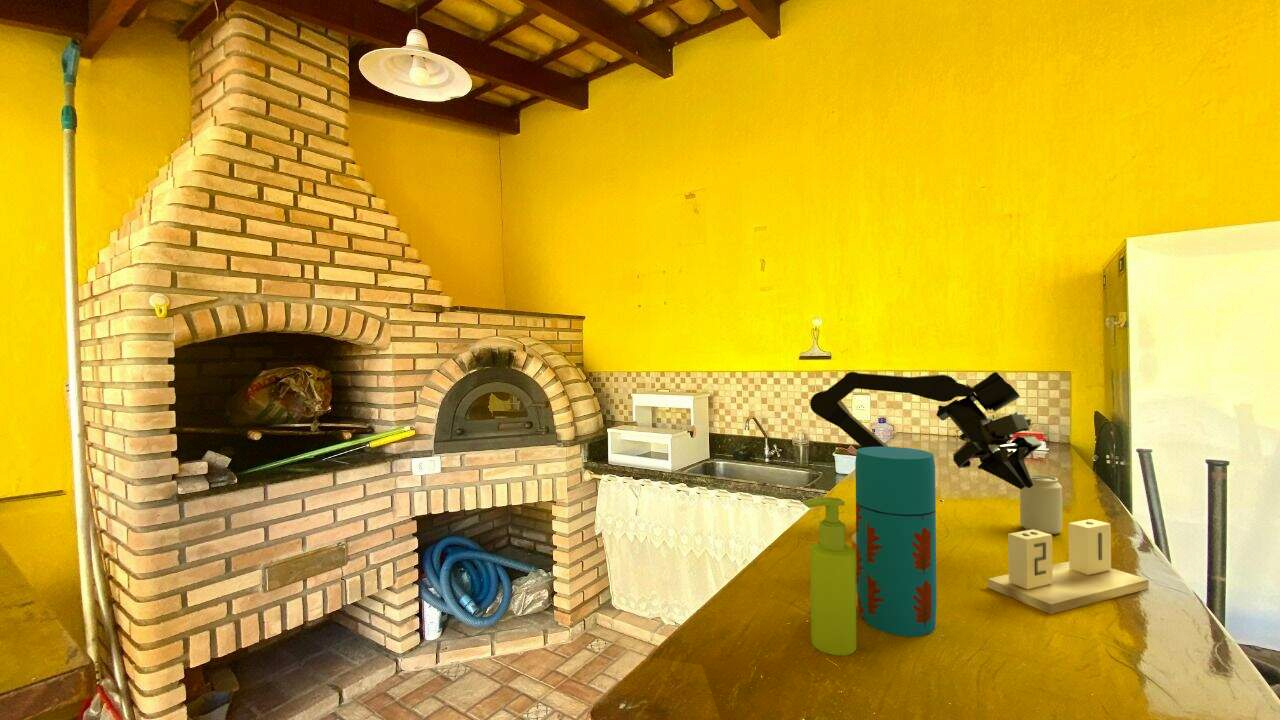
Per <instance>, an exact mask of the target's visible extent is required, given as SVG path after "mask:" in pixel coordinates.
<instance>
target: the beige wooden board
mask: <svg viewBox="0 0 1280 720" xmlns="http://www.w3.org/2000/svg"><path fill="white" fill-rule="evenodd" d="M1052 581H1053V583H1052V584H1048V585H1043V586H1039V587H1035V588H1031V589H1025V588H1023V587H1020V586H1018V585H1015V584H1013V583H1010V582H1009V573H1008V574H1003V575H999V576H994V577H990V578H987V588H989V589H991V590H993V591H996V592H998V593H1000V594H1003V595H1005V596H1007V597H1010V598H1012V599H1014V600H1016V601H1019V602H1021V603H1023V604H1026V605H1029V606H1030V607H1033V608H1036V609H1038V610H1040V611H1042V612H1045V613H1046V614H1050V615H1053V614H1056V613H1057V614H1058V613H1060V612H1061V613H1062V612H1064V611H1069V610H1072V609H1076V608H1079V607H1083V606H1087V605H1092V604H1095V603H1099V602H1104V601H1107V600H1110V599H1114V598H1119V597H1122V596H1125V595H1126V596H1127V595H1129V594H1133V593H1137V592H1141V591H1145V590H1149V586H1150V585H1149V584H1150V582H1149V579H1147V578H1144V577H1141V576H1137V575H1136V574H1131V573H1128V572H1125V571H1122V570H1119V569H1115V568H1114V567H1113V568H1112V567H1111V570H1108V571H1104V572H1099V573H1095V574H1091V575H1087V574H1084V573H1081V572H1078V571H1075V570H1072V569H1069V560H1068V561H1064V562H1059V563H1054V564H1052Z"/></svg>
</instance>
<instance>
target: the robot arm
mask: <svg viewBox="0 0 1280 720" xmlns="http://www.w3.org/2000/svg"><path fill="white" fill-rule="evenodd" d="M856 389H858V390H866V391H876V392H877V391H880V392H889V393H901V394H909V395H915V396H917V397H922V398H924V399H928V400H933V401H936V402H942V403H948V402H949V403H948V404H947V405H938V406H937V407H938V408H937V412H936V417H937V418H938V419H939V420H941V421H945V420H947V419H948V418H950V420H951V421H952V422H953V423H954V425H955V426H956V427H957V428H958V429H959V430H960V432H961V433H962V434H961V435H960V436H959V437H960V439H961V440H962V441H965V443H964V444H963V445H962V446H960V447H959V448H958V449H957V451H955V452H954V453H953V457H952V459H953V463H954V464H956V466H957V468H959V469H964V468H965V469H966V468H969V467H970V466H971V461H970V460H971V459H979V462H980V464H979V465H978V466H977V469H978V470H982V471H984V472H986V473H989V474H991V475H993V476H995V477H997V478H998V479H1001V480H1003V481H1004V482H1007V483H1008V484H1010V485H1012V486H1014V487H1016V488H1018V489H1019V490H1020V489H1023V488H1024V487H1025V486H1026V487H1027V488H1031V487H1032V486H1033V483H1032V480H1031V478H1030V475H1029V474H1030V473H1029V471H1028V468H1027V466H1026V462H1025V460H1026V459H1027V457H1029V456H1030V455H1032V454H1033V453H1034V452H1035V451H1036V450H1038V449H1039V448H1040V447H1041V446H1042V443H1041V441H1040V440H1038V438H1037V437H1036V436H1034V435H1024V436H1023V435H1021V436H1017V437H1016V438H1014V437H1015V436H1014V434H1018V433H1021V432H1027V431H1030V430H1031V429H1030V426H1031V425H1032V419H1031V418H1030V417H1028V416H1027V414H1025V413H1023V411H1016V412H1015V413H1012V414H1008V415H1005V416H1001V417H999V418H997V419H996V418H988V416H987V415H986V414H985V413H984V412H983V410H981V408H980V407H979V406H978V405H977V404H976V403H975V402H976V401H977V402H978V403H979V405H980V406H981V407H982V408H983V409H984V410H985V411H986V412H987V411H993V412H995V413H996V412H997V411H999V410H1000V409H1002V408H1005V407H1006V406H1007V405H1009V404H1012V403H1013V402H1014V401H1016V400H1017V399H1020V398H1021V395H1020V394H1019V393H1018V392H1017V390H1016V389H1015V388H1014V387H1013V386H1012V385H1011V384H1010V383H1008V382H1007V381H1006V380H1005V379H1004V378H1003V377H1002V376H1001V375H1000V374H999V373H998V372H997V371H993V372H991V373H990V374H989V375H988V376H987V377H986V378H984V379H982V380H981V381H979V382H978V383H976V384H974V385H969V384H968V383H966V384H964V383H960V382H957V381H956V380H955V378H953V377H952V376H950V375H948V374H933V375H919V376H901V375H890V374H889V375H888V374H876V373H863V372H858V371H850V372H847V373H846V374H845V375H844V376H843V377H842V378H840V380H838V381H837V382H836V383H834V384H833V385H831V387H829V388H828V389H827V390H826V389H825V390H822V391H819V392H816V393H815V394H813V395H812V396H811V399H810V409H811V411H812V412H813V413H814V414H815V415H817V416H819V417H820V418H822V419H823V420H824V421H827V422H829V423H830V424H832V425H834V426H836V427H838V428H840V429H841V430H842V431H843V432H845V434H847V435H848V436H849V437H850V438H851V439H852V440H853V441H855V442H856V443H857V444H858V445H859V446H860V447H861V448H865V447H889V445H887V444H886V443H885V442H884V441H883V440H881V439H880V438H879V437H878V436H876V434H874V433H873V432H872V431H871V429H869V428H868V427H866V426H865V425H864V424H863V423H862V422H861V421H859V420H858V419H857V418H856V417H855V416H853V415H852V413H851V412H850V410H849V409H848V408H847V406H846V405H845V403H844V402H843V401H842V400H843V399H844V398H846V397H847V396H848V395H849V394H851V393H852V392H853V391H855V390H856ZM961 397H962V399H959V400H958V399H956V398H961ZM963 397H964V398H963ZM953 399H954V400H953ZM952 400H953V401H952ZM1013 438H1014V439H1013ZM1012 439H1013V440H1012ZM1011 440H1012V441H1011ZM1009 441H1011V442H1010V443H1009Z"/></svg>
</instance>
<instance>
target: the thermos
mask: <svg viewBox="0 0 1280 720" xmlns="http://www.w3.org/2000/svg"><path fill="white" fill-rule="evenodd" d="M854 463H855V464H854V465H855V466H854V467H855V470H854V471H855V528H856V529H855V533H856V560H857V578H856V599H857V610H858V611H857V612H858V615H859V617H860V619H861V620H862V621H863V622H865V624H867V625H868V626H869V627H872V628H874V629H877V630H878V631H881V632H884V633H887V634H892V635H895V636H901V637H908V638H909V637H910V638H911V637H922V636H923V635H924V636H927V635H930V634H932V633H933V632H934V631H935V630H936V621H937V603H938V602H937V601H938V600H937V597H938V596H937V515H936V513H937V511H936V509H937V508H936V501H937V500H936V497H937V496H936V463H935V456H934V453H932V452H929V451H927V450H923V449H917V448H910V447H902V446H901V447H900V446H888V447H865V448H863V447H861V448H858V449H857V450H856V455H855V462H854ZM926 634H927V635H926Z"/></svg>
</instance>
